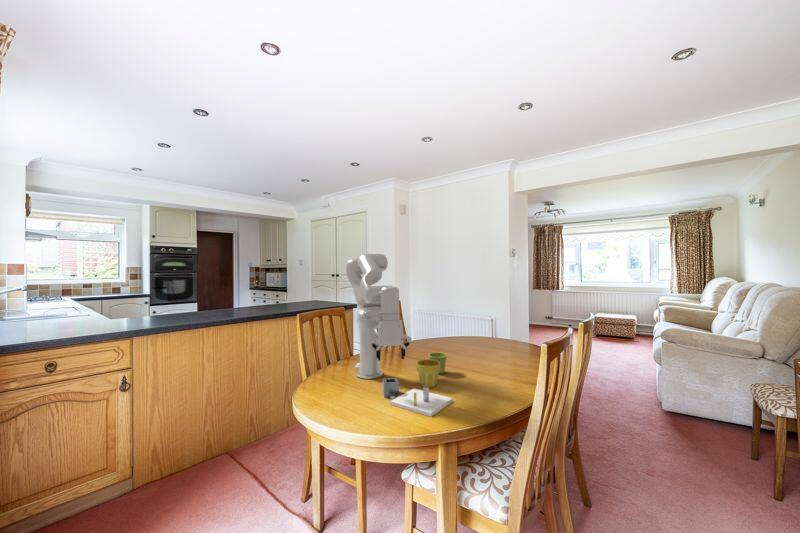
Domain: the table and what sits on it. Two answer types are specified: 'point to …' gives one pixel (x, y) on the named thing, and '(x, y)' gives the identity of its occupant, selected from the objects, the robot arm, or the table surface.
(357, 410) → the table surface
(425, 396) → the steel post
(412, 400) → the board
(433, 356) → the plant pot
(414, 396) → the brass dowel
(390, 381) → the grey socket block
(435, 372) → the plant pot
